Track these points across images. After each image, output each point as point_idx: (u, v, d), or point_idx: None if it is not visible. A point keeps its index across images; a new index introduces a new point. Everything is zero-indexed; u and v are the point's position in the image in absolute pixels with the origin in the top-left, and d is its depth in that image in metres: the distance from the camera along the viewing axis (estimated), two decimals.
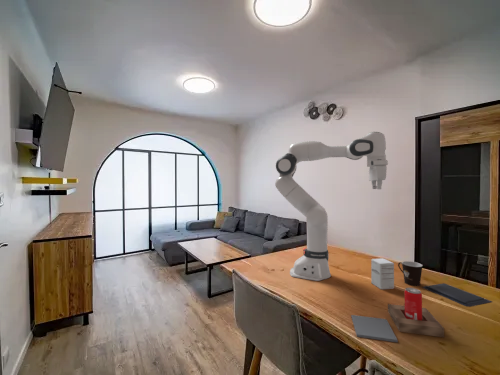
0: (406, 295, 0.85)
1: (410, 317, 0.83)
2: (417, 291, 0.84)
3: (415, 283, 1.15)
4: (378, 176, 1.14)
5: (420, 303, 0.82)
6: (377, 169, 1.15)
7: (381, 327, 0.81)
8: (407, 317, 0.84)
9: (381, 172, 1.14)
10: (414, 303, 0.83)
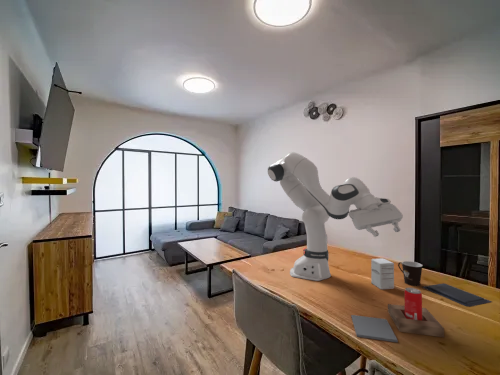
0: (406, 295, 0.85)
1: (410, 317, 0.83)
2: (417, 291, 0.84)
3: (415, 283, 1.15)
4: None
5: (420, 303, 0.82)
6: None
7: (381, 327, 0.81)
8: (407, 317, 0.84)
9: None
10: (413, 303, 0.83)
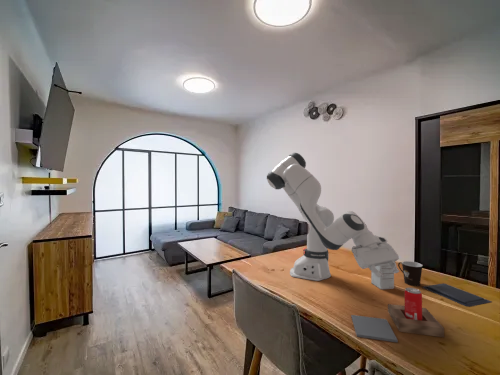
0: (406, 295, 0.85)
1: (410, 317, 0.83)
2: (417, 291, 0.84)
3: (415, 283, 1.15)
4: None
5: (420, 303, 0.82)
6: None
7: (381, 327, 0.81)
8: (407, 317, 0.84)
9: None
10: (414, 303, 0.83)
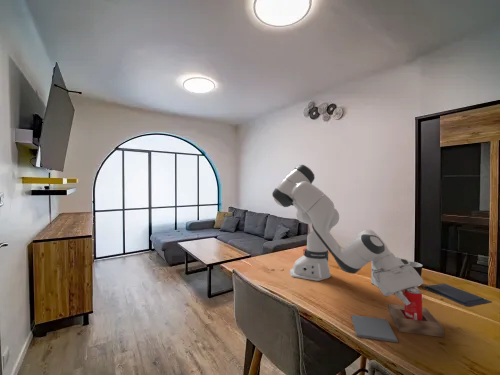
0: (406, 295, 0.85)
1: (410, 317, 0.83)
2: (417, 291, 0.84)
3: None
4: None
5: (420, 303, 0.82)
6: None
7: (381, 327, 0.81)
8: (407, 317, 0.84)
9: None
10: (414, 303, 0.83)
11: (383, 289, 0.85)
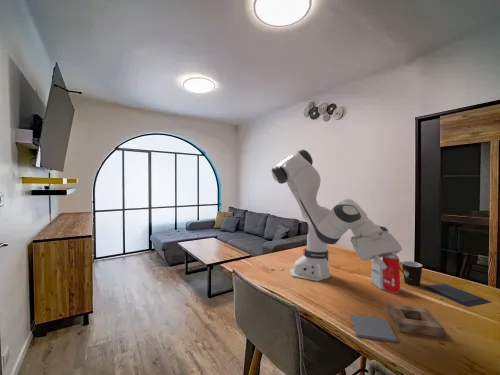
0: (384, 261, 0.83)
1: (388, 283, 0.82)
2: (395, 257, 0.82)
3: (415, 283, 1.15)
4: None
5: (397, 268, 0.81)
6: None
7: (381, 327, 0.81)
8: (385, 283, 0.83)
9: None
10: (391, 268, 0.81)
11: (360, 253, 0.83)
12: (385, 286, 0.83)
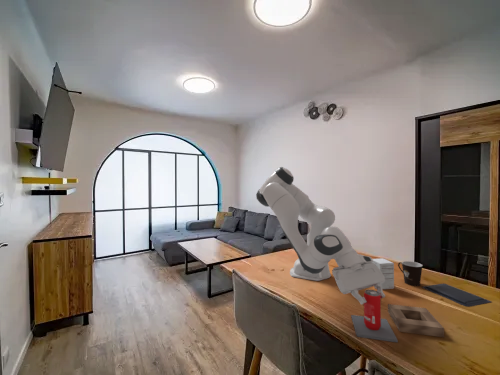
0: (365, 297, 0.82)
1: (368, 320, 0.80)
2: (376, 293, 0.81)
3: (415, 283, 1.15)
4: None
5: (378, 306, 0.79)
6: None
7: (381, 327, 0.81)
8: (365, 320, 0.81)
9: None
10: (371, 306, 0.80)
11: (341, 287, 0.82)
12: (366, 323, 0.81)
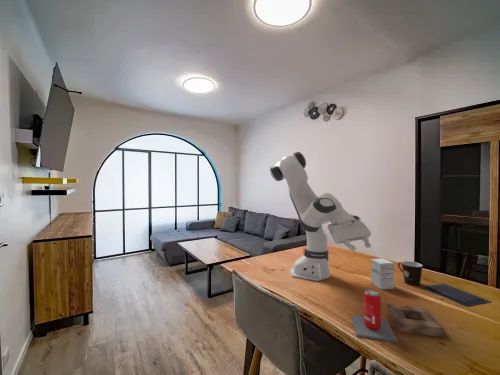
0: (365, 297, 0.82)
1: (368, 320, 0.80)
2: (376, 293, 0.81)
3: (415, 283, 1.15)
4: None
5: (378, 306, 0.79)
6: None
7: (381, 327, 0.81)
8: (365, 320, 0.81)
9: None
10: (371, 306, 0.80)
11: (335, 238, 0.99)
12: (366, 323, 0.81)
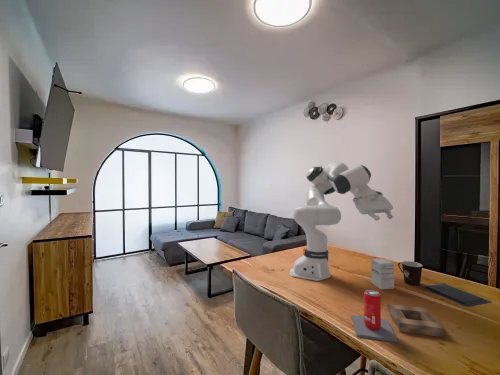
0: (365, 297, 0.82)
1: (368, 320, 0.80)
2: (376, 293, 0.81)
3: (415, 283, 1.15)
4: None
5: (378, 306, 0.79)
6: None
7: (381, 327, 0.81)
8: (365, 320, 0.81)
9: None
10: (371, 306, 0.80)
11: (360, 209, 1.09)
12: (366, 323, 0.81)
